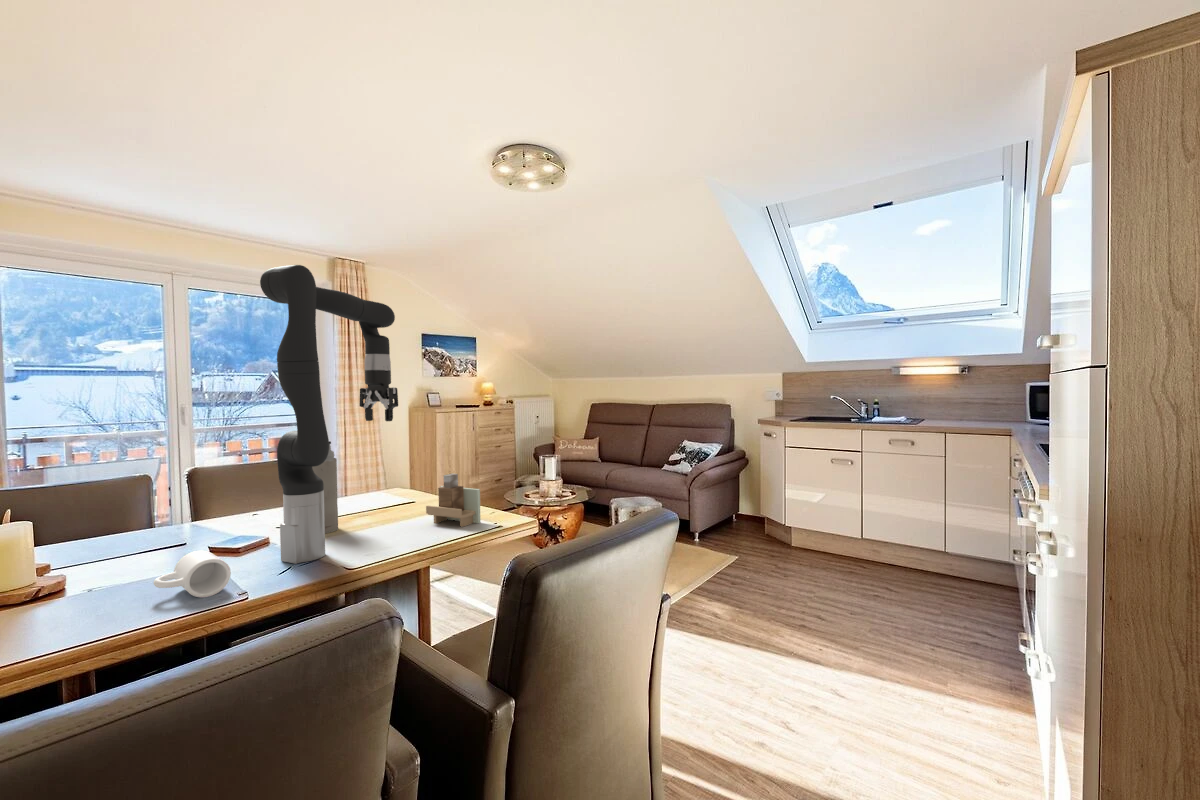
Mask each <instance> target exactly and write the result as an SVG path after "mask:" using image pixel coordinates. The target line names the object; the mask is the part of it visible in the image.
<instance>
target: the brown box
mask: <svg viewBox="0 0 1200 800" xmlns="http://www.w3.org/2000/svg"><path fill="white" fill-rule="evenodd" d="M442 486H443V487H440V486H439V487H438V507H446V508H455V509H462V511H464V490H463V488H464V485H459V474H458V473H449V474H444V475H443V485H442Z"/></svg>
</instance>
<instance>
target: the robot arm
mask: <svg viewBox="0 0 1200 800" xmlns="http://www.w3.org/2000/svg"><path fill="white" fill-rule="evenodd" d="M259 279H260V281H259V284H260V289H261V291H262V292H263V294H264V295H265V296H266V298H268V299H269V300H270V301H273V302H274V303H277V304H285V305H287V308H288V309H287V311H288V312H287V313H288V321H287V326H286V329H285V332H284V334H283V337H282V339H281V341H280V342H279V345H278V348H277V353H276V365H277V377H278V382H279V385H280V386H281V389H282V390H283V393H284V395H285V396H286V398H287V400H288V401H289V403H290V405H291V407H292V409H293V410H294V415H295V419H296V420H295V421H296V430H290V431H287V432H286V433H284V434H283V435H282V436H281V437H280V439H279V441H278V443H277V447H276V449H277V450H276V460H277V472H278V480H279V483H280V486H281V488H282V500H283V501H282V503H283V523H280V525H279V535H280V562H285V563H291V564H295V565H296V564H297V565H298V564H300V563H307V562H310V561H316V560H318V559H321V558H323V557H324V556H325V555H326V538H325V537H326V533H325V525H324V484H323V480H322V479H321V478H319V477H318V476H317V475H316V474H315V473H314V471H313V469H312V467H314V466H319V465H321V464H322V463H323V462H324V461H325V460H326V458H327V456H328V453H329V440H330V439H329V435H328V431H327V430H328V429H327V425H326V420H325V414H324V409H323V398H322V391H321V389H322V388H321V381H320V380H321V379H320V377H321V375H320V362H319V354H318V341H317V325H316V324H317V323H316V322H317V319H316V317H317V316H316V315H317V310H318V311H322V312H325V313H328V314H332V315H335V316H338V317H342V318H344V319H347V320H350V321H353V322H358V323H359V327H360V330H361V332H362V333H361V334H362V336H363V339H364V345H365V346H364V351H365V352H364V353H365V357H364V383H365V384H366V385H367V387H360V388H359V407H360V408H363V409H364V419H365V422H372V421H373V420H374V410H373V408H374V406H375V404H376V403H377V402H378V403H379V402H380V404H382V405H383V407H384V408H385V409H384V421H385V422H393V419H394V408H395V409H396V408H397V407H399V393H398V388H397V387H394V386H393V387H390V385H391V383H392V366H391V363H392V362H391V361H392V360H391V357H390V354H391V353H390V351H391V350H390V347H391V346H390V339H389V337H388V336H385V335H381V334H380V333H379V330H378V329H381V328H382V329H384V328H389V327H390V326H392V325H393V324H394V322H395V319H396V315H395V312H394V310H393V309H392V308H391V307H390V306H389V305H387V304H385V303H382V302H377V301H373V300H366V299H363V298H361V297H359V296H356V295H353V294H351V293H348V292H345V291H340V290H337V289H336V290H335V289H329V288H323V287H318V286H317V285H316V281H315V277H314V274H313V273H312V272H311V270H310V269H309V268H307V267H306V266H304V265H302V264H291V265H282V266H276V267H272V268H269V269H267V270H265V271H263V273H262V274H261V276H260V278H259Z"/></svg>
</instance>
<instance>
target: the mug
mask: <svg viewBox="0 0 1200 800" xmlns="http://www.w3.org/2000/svg"><path fill="white" fill-rule="evenodd" d="M231 575H232V571H231V568H230V566H229V564H228V563H227V562H226V561H224V560H223V559H221V558H219V556H217V555H216V554H214V553H212V552H210V551H207V550H195V551H194V550H193V551H191V552H189V553H187V554H185V555H184V556H182V557H181V558H180V559H179V560H178V562H177V563H176V565H175V566H174V569H173V571H172V572H169V573H165V574H163V575H160V576H158V577H156V578H155V579H154V580H153V586H154V587H155V588H158V589H169V588H177V587H182V588H183V589H184V590H185V591H186V592H187V593H189V595H191V596H192V597H195V598H208V597H212V596H215V595H217V594H218V593H220V592H221V591H222V590H224V589H225V588H226V586H227V585H228V584H229V581H230V579H231Z"/></svg>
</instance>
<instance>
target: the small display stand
mask: <svg viewBox="0 0 1200 800" xmlns="http://www.w3.org/2000/svg"><path fill="white" fill-rule="evenodd" d="M443 486H444V485H440V486H439V487H443ZM463 490H464V511H462V509H455V508H446V507H439V506H438V505H437V506H435V505H425V513H426V514H427V515H428V516H433V524H439V523H442V522H445V521H453V520H455V521H454V522H459V527H460V526H461V527H466V526H468V525H471V524H481V491H480V490H481V489H480V488H472V487H471V488H470V487H463ZM447 519H448V520H447ZM444 520H445V521H444ZM441 521H442V522H441ZM438 522H439V523H438Z"/></svg>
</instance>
